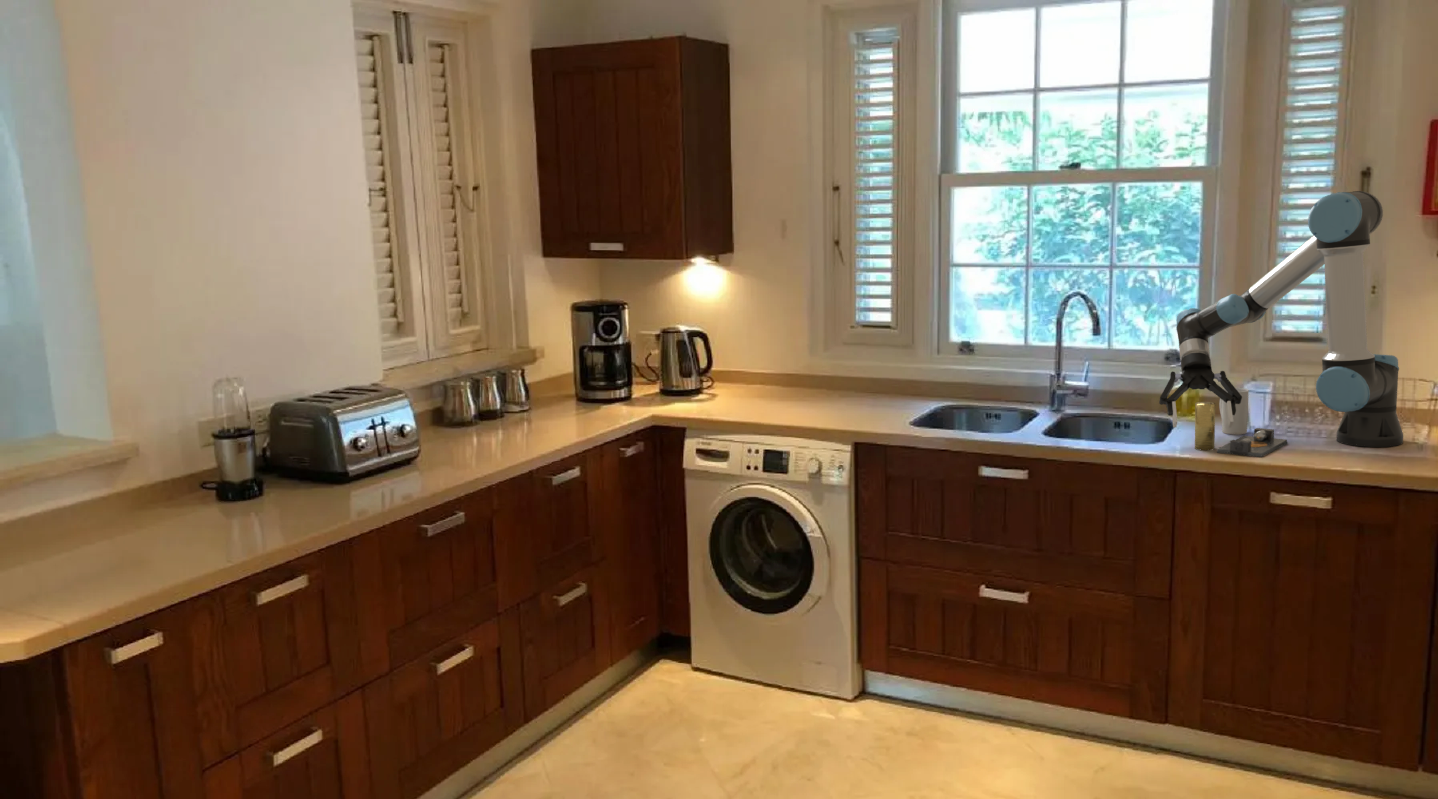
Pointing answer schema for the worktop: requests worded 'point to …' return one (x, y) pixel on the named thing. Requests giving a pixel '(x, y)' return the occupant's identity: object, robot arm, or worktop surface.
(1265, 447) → the shaft bench
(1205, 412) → the sleeve
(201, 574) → the worktop surface
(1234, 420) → the mug
